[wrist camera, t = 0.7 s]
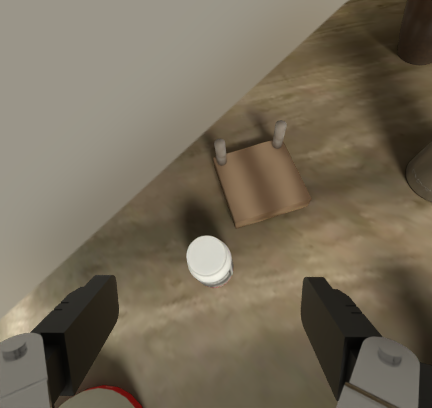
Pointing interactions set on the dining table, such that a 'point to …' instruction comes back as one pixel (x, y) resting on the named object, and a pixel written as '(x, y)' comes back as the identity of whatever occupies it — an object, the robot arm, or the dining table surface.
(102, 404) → the kitchen timer
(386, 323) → the dining table surface
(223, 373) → the dining table surface
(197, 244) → the pill bottle
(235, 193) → the stand
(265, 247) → the dining table surface
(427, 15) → the plant pot
